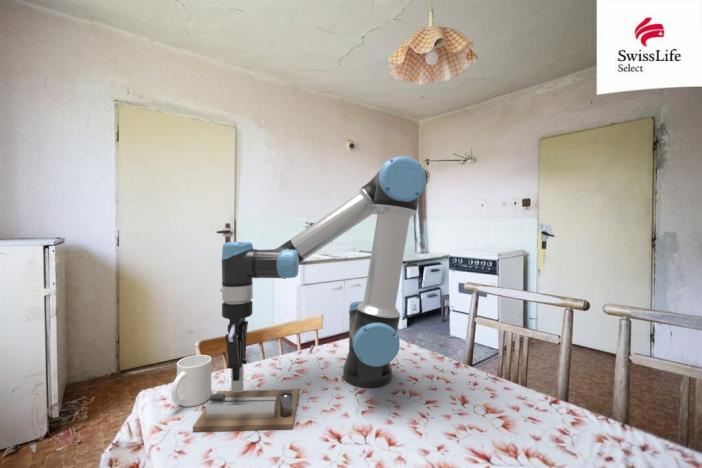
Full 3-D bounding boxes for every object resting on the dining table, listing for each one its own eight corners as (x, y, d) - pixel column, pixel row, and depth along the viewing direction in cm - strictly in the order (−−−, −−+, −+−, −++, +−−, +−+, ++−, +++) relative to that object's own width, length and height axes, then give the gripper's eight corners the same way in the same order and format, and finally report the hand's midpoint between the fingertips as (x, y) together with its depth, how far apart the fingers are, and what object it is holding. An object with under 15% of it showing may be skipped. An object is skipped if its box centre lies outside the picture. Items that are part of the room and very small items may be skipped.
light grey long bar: (276, 409, 80) (276, 393, 80) (275, 412, 78) (275, 396, 78) (212, 409, 79) (212, 394, 79) (209, 413, 78) (209, 397, 78)
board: (299, 393, 90) (299, 389, 90) (292, 429, 74) (292, 424, 74) (217, 395, 89) (217, 391, 89) (192, 432, 73) (192, 426, 73)
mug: (186, 418, 78) (186, 375, 78) (157, 413, 80) (157, 371, 80) (217, 393, 90) (218, 356, 90) (191, 389, 92) (191, 353, 92)
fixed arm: (292, 410, 80) (292, 388, 80) (291, 417, 77) (291, 395, 77) (211, 412, 79) (211, 390, 78) (206, 420, 76) (206, 396, 75)
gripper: (230, 295, 92) (230, 379, 92) (214, 307, 79) (214, 404, 79) (257, 295, 92) (257, 378, 93) (245, 306, 79) (245, 403, 80)
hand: (237, 390), depth 86 cm, fingers closed
